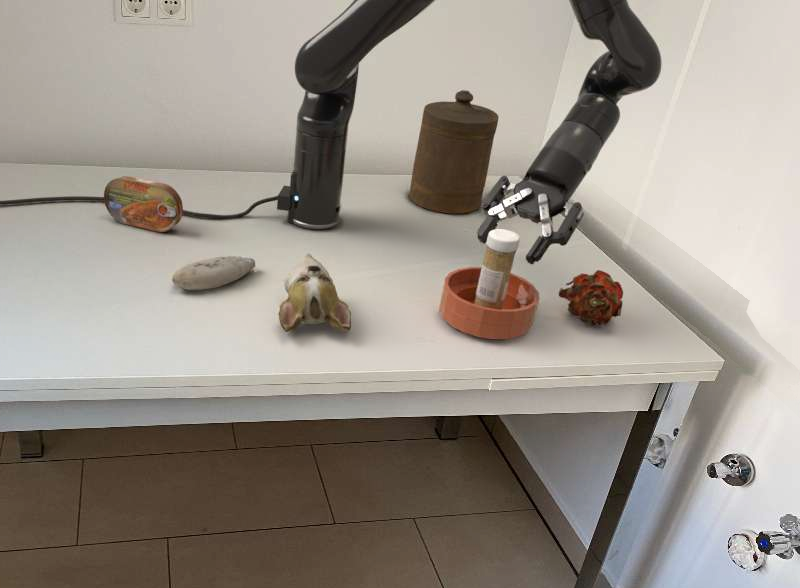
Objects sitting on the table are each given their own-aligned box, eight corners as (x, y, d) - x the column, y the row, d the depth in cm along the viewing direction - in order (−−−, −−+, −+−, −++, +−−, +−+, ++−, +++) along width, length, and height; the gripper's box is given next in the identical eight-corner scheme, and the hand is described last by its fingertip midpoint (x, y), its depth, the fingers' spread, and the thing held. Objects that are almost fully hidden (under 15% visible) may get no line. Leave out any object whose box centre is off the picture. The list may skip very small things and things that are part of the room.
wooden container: (490, 199, 166) (514, 91, 153) (464, 220, 155) (486, 106, 143) (426, 182, 172) (444, 77, 159) (396, 201, 161) (412, 90, 149)
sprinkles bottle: (506, 318, 122) (527, 237, 114) (485, 324, 119) (504, 243, 112) (485, 305, 125) (504, 225, 117) (464, 311, 122) (482, 230, 115)
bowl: (436, 335, 117) (442, 302, 114) (440, 292, 129) (446, 261, 126) (533, 350, 116) (542, 317, 113) (528, 305, 127) (536, 274, 124)
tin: (104, 219, 144) (101, 174, 139) (113, 213, 146) (111, 169, 141) (177, 237, 140) (176, 191, 135) (185, 230, 142) (185, 185, 137)
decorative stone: (264, 276, 129) (265, 257, 127) (185, 301, 120) (185, 281, 119) (241, 262, 133) (242, 244, 131) (163, 285, 124) (162, 266, 122)
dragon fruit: (593, 348, 120) (566, 319, 131) (645, 319, 119) (613, 292, 129) (570, 304, 117) (544, 278, 128) (624, 274, 115) (593, 250, 126)
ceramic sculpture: (343, 244, 120) (359, 296, 109) (338, 292, 126) (353, 347, 114) (274, 243, 119) (283, 296, 107) (271, 292, 124) (279, 347, 113)
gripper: (518, 133, 118) (458, 222, 118) (604, 160, 110) (540, 256, 110) (528, 161, 124) (471, 246, 124) (611, 189, 116) (551, 280, 116)
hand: (504, 250), depth 117 cm, fingers open, 8 cm apart
